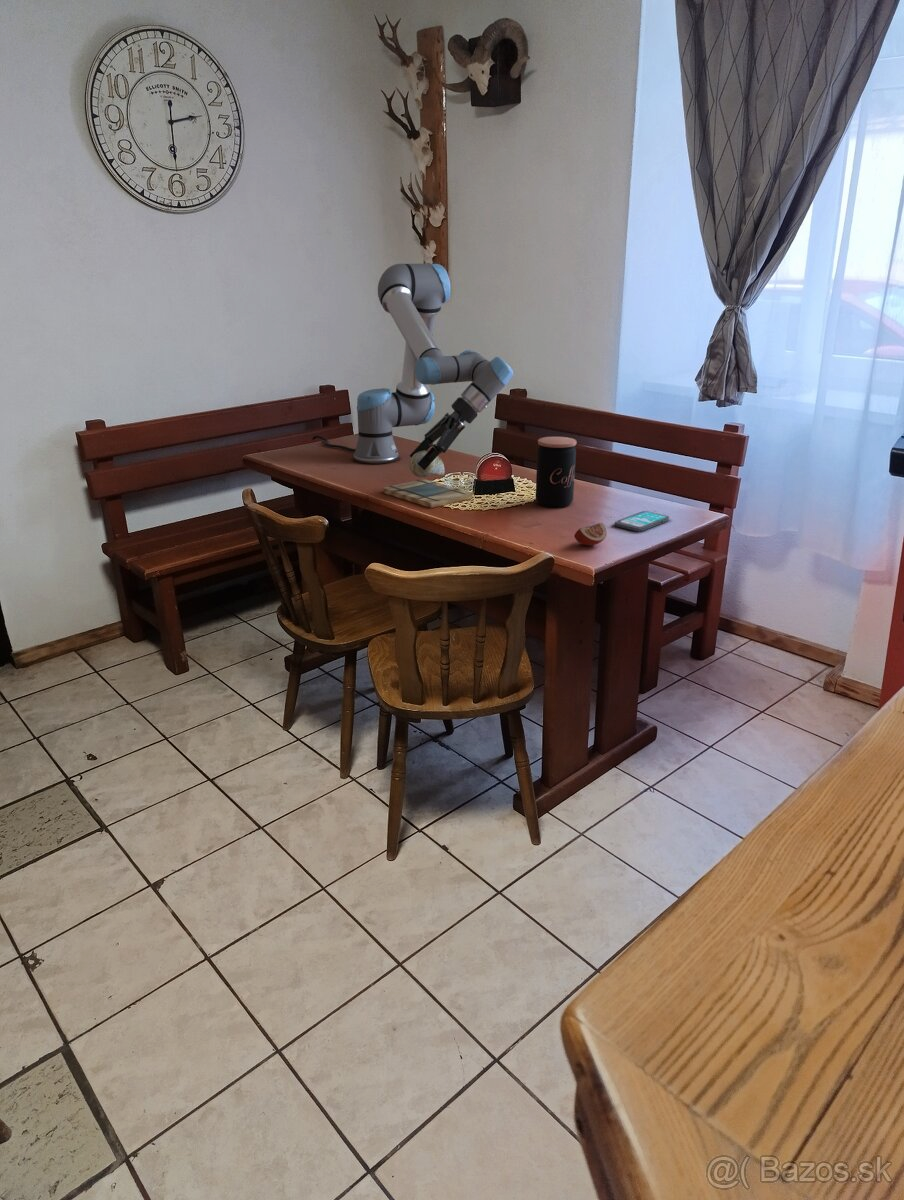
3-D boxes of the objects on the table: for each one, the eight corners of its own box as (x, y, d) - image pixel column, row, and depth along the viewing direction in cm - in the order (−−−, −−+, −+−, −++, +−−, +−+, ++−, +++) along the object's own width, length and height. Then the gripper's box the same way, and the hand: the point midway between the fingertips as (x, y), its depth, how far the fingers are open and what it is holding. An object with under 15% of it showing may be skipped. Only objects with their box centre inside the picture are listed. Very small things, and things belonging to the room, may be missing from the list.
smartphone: (612, 521, 212) (644, 509, 221) (612, 525, 212) (643, 513, 222) (640, 528, 206) (671, 516, 216) (640, 532, 206) (671, 519, 216)
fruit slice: (591, 538, 203) (592, 518, 201) (612, 544, 198) (613, 525, 196) (568, 544, 198) (569, 525, 196) (589, 552, 193) (590, 532, 191)
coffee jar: (548, 510, 225) (551, 445, 218) (528, 501, 234) (530, 438, 227) (580, 505, 229) (584, 442, 222) (559, 496, 238) (562, 435, 231)
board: (383, 492, 242) (382, 487, 241) (423, 483, 252) (423, 478, 251) (431, 508, 227) (431, 502, 226) (472, 497, 237) (472, 492, 236)
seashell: (446, 467, 243) (446, 441, 235) (443, 489, 237) (442, 463, 229) (412, 465, 243) (411, 439, 236) (408, 487, 237) (407, 461, 229)
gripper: (489, 420, 224) (435, 480, 227) (467, 407, 244) (417, 462, 247) (471, 402, 221) (416, 463, 223) (450, 390, 241) (399, 446, 243)
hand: (416, 463), depth 235 cm, fingers closed on seashell, 10 cm apart
